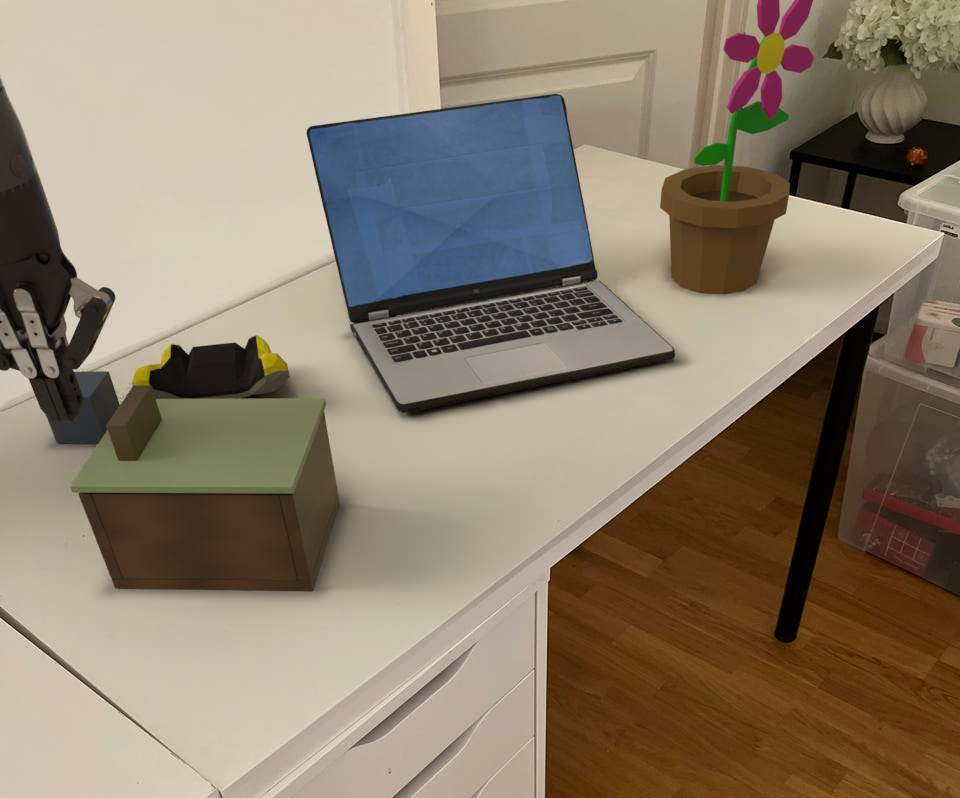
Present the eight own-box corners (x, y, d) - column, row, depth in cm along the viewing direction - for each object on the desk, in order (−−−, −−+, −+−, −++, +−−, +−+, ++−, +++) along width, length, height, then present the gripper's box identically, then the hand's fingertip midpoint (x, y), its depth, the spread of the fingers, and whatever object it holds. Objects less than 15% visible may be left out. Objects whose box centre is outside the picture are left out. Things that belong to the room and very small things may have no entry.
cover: (72, 493, 70) (55, 450, 68) (130, 405, 79) (117, 364, 77) (293, 493, 69) (284, 450, 66) (326, 404, 78) (319, 363, 75)
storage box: (114, 588, 77) (77, 494, 70) (161, 501, 85) (132, 410, 79) (312, 591, 75) (292, 495, 69) (339, 502, 84) (324, 409, 78)
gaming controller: (294, 413, 96) (294, 366, 103) (284, 361, 92) (284, 316, 99) (140, 430, 95) (151, 381, 102) (124, 378, 91) (136, 331, 98)
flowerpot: (707, 312, 108) (746, -5, 88) (629, 270, 117) (648, -26, 97) (802, 281, 113) (860, -26, 93) (720, 243, 122) (757, -44, 102)
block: (56, 443, 93) (38, 397, 90) (76, 417, 97) (59, 371, 94) (106, 443, 93) (90, 396, 90) (124, 417, 97) (109, 371, 93)
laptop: (399, 421, 94) (377, 226, 81) (328, 295, 116) (302, 126, 103) (678, 363, 100) (697, 172, 87) (560, 253, 122) (562, 90, 110)
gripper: (95, 152, 63) (166, 391, 75) (-95, 158, 65) (4, 392, 76) (50, 191, 58) (135, 442, 70) (-157, 197, 59) (-39, 443, 71)
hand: (66, 416), depth 73 cm, fingers closed
